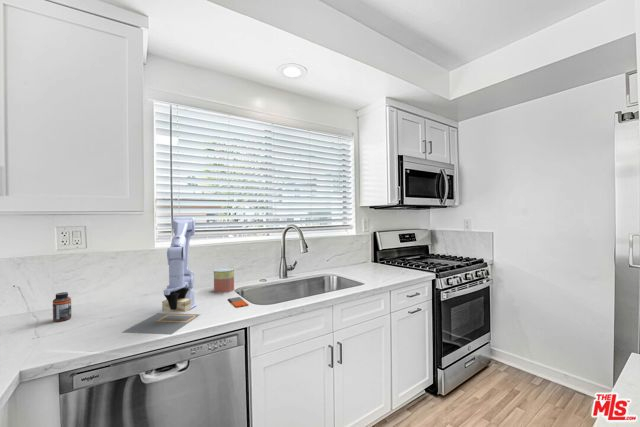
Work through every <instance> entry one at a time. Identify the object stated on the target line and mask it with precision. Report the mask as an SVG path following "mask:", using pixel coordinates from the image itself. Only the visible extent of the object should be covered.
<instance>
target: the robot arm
mask: <svg viewBox="0 0 640 427" xmlns="http://www.w3.org/2000/svg"><path fill="white" fill-rule="evenodd" d="M171 225H172V226H171V227H172V230H173V234H174V236H173V237H172V239H171V243H170V247H169V248H167V251H166V257H167V265H168V284H167V285H166V288H165V289H163V295H164V297H165V298H166V299H167V300H168V303H169V306H170V309H171V310H176V308H177V299H179V298H181V299H191V308H190V309H189V310H187V311H190V310H192V309H193V308H194V307H197V304H195V303H196V301H195V300H196V299H195V298H196V297H195V290H194V289H193V288H194V286H195V277H194V276H195V274H194V272H193V271H192V270H191V269H189V257H190V256H189V254H190V241H191V237H193V236H194V235H195V232H196V218H195V217H194V216H181V217H178V216H177V217H176V216H174V217H172V223H171ZM166 299H165V300H166ZM187 311H186V312H187Z"/></svg>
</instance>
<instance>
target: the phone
mask: <svg viewBox="0 0 640 427" xmlns="http://www.w3.org/2000/svg"><path fill="white" fill-rule="evenodd" d="M227 301H228V302H229V303H230V304H231V305H232V306H233V307H234V308H235V309H238V308H242V307H248V306H250V304H249V303H248V302H246V301H245V300H244V299H243V298H242V297H240V296H239V297H238V296H237V297H231V298H228V299H227Z"/></svg>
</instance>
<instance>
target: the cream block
mask: <svg viewBox="0 0 640 427" xmlns="http://www.w3.org/2000/svg"><path fill="white" fill-rule="evenodd" d="M190 308H191V299H181V298H179V299H177V308H176V310H171V309H170V306H169V303H168V300H167V299H164V300H162V301H161V311H162V312H187V310H188V311H190V310H191V309H190ZM189 309H190V310H189Z"/></svg>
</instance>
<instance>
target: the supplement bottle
mask: <svg viewBox="0 0 640 427" xmlns="http://www.w3.org/2000/svg"><path fill="white" fill-rule="evenodd" d="M71 318H72V297H70V296H69V292H68V291H64V292H63V291H61V292H57V293H56V294H55V297H54V299H53V300H52V320H53V322H57V323H58V322H60V323H61V322H65V321H68V320H70V319H71Z"/></svg>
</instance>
